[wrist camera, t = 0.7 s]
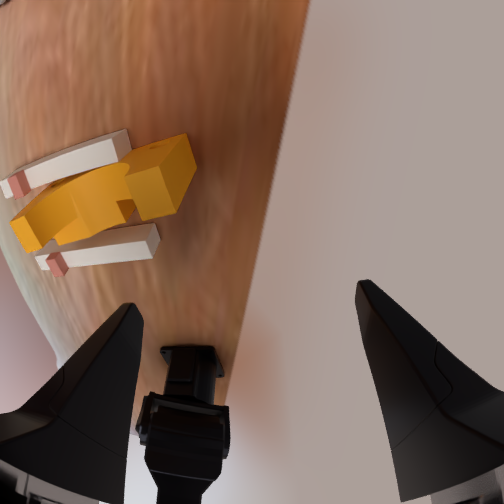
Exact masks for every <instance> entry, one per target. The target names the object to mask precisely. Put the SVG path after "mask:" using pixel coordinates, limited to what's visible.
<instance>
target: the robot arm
mask: <svg viewBox="0 0 504 504" xmlns="http://www.w3.org/2000/svg"><path fill="white" fill-rule="evenodd" d="M355 305H356V310H357V314H358V320H359V325H360V331H361V336H362V341H363V345H364V349H365V352H366V356H367V359H368V362H369V366H370V369H371V373H372V376H373V380H374V383H375V387H376V391H377V395H378V398H379V402H380V406H381V410H382V414H383V418H384V422H385V426H386V430H387V434H388V439H389V443H390V448H391V450H392V451H391V453H392V458H393V463H394V467H395V473H396V478H397V483H398V489H399V495H400V500H401V502H405V501H408V500H413V499H416V498H419V497H423V496H427V495H431V501H432V504H504V392H503V391H501V390H498V389H496V388H495V387H493V386H492V385H490V384H489V383H488V382H486V381H485V380H484V379H483V378H482V377H480V376H479V375H478V374H477V373H475V372H474V371H472V370H471V369H470V368H469V367H468V366H466V365H465V364H464V363H463V362H462V361H460V360H459V359H458V358H457V357H456V356H454V355H453V354H452V353H451V352H450V351H449V350H448V349H447V348H446V347H445V346H444V345H442V344H441V343H440V342H439V341H437V339H436V338H435V337H434V336H433V335H432V334H431V333H430V332H428V331H427V330H426V329H425V328H424V327H423V326H422V325H421V324H420V323H419V322H418V321H416V320H415V319H414V318H413V317H412V316H411V315H410V314H409V313H408V312H407V311H405V310H404V309H403V308H402V307H401V306H400V305H398V303H396V302H395V301H394V300H393V299H392V298H391V297H390V296H388V295H387V294H386V293H385V292H384V291H383V290H382V289H380V288H379V287H378V286H377V285H376V284H375V283H373V282H372V281H371V280H369V279H367V280H360V281H358V283H357V287H356V295H355ZM143 327H144V320H143V317H142V315H141V313H140V312H139V310H138V308H137V306H136V305H135V304H134V303H124V304H122V305H121V306H120V307H119V308H118V309H117V310H116V311H115V312H114V313H113V314H112V315H111V316H110V317H109V318H108V319H107V320H106V321H105V322H104V323H103V324H102V325H101V326H100V327H99V328H98V329H97V330H96V331H95V332H94V333H93V334H92V335H91V336H90V337H89V338H88V339H87V340H86V342H85V343H84V344H83V345H82V346H81V347H80V348H79V349H78V350H77V351H76V352H75V353H74V354H73V355H72V356H71V357H70V358H69V359H68V360H67V362H66V363H65V364H64V366H62V367H61V368H60V369H59V370H58V371H57V372H56V374H54V376H52V378H51V379H50V380H49V381H48V382H47V383H46V384H45V385H44V386H43V387H41V388H40V390H39V391H37V392H36V393H35V394H34V395H33V396H32V397H31V398H30V399H29V400H28V401H27V402H26V403H25V404H24V405H23V406H21V407H20V408H19V409H17V410H15V411H12V412H9V413H3V414H0V504H99V501H102V502H105V503H109V504H124V488H125V475H126V463H127V459H126V458H127V451H128V442H129V433H130V425H131V417H132V410H133V403H134V397H135V390H136V384H137V378H138V372H139V367H140V360H141V350H142V338H143ZM160 353H161V355H162V356H163V358H164V360H165V361H166V363H167V364H168V371H167V376H166V381H165V386H164V392H163V395H160V394H156V393H155V392H151V391H150V393H149V395H148V396H144V399H143V403H142V408H141V411H140V414H139V417H138V420H137V423H136V428H135V430H136V431H137V432H138V434H139V438H140V444H141V445H144V446H146V449H145V456H144V459H145V462H146V465H147V467H148V469H149V471H150V473H151V475H152V477H153V479H154V481H155V483H156V485H157V487H158V492H157V502H156V504H201V498H202V494H203V493H204V492H205V491H206V489H207V488H208V487H209V486H210V485H211V484H212V482H213V481H215V480H216V479H217V478H218V477H219V475H220V474H221V470H222V460H223V459H226V458H227V456H228V453H229V447H230V421H229V406H219V405H214V394H215V381H216V378H221V377H224V371H223V368H222V366H221V363H220V361H219V359H218V356H217V354H216V351H215V349H214V348H213V347H210V346H208V347H162V348H160Z"/></svg>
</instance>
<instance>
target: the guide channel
mask: <svg viewBox="0 0 504 504" xmlns="http://www.w3.org/2000/svg"><path fill="white" fill-rule="evenodd" d="M131 150H132V148H131V144H130V140H129V137H128V133H127V129H123V130H120V131H117V132H113V133H110V134H107V135H104V136H100V137H97V138H94V139H91V140H88V141H85V142H83V143H80V144H77V145H74V146H71V147H69V148H66V149H63V150H61V151H58V152H56V153H53V154H51V155H48V156H46V157H43V158H41V159H39V160H36V161H34V162H32V163H30V164H27V165H25V166H23V167H21V168H19V169H16V170H15V171H13V172H12V173H11V174H9V175H8V176H7V177H5V178H4V179H3V180H1V181H0V185H1V188H2V190H3V193H4V195H5V198H6V199H7V198H9V197H12V196H14V198H15V200H16V199H19V198H21V197H24V196H25V195H26V194H28V193H29V192H30V191H31V189H32V188H35V187H38V186H41V185H44V184H46V183H49V182H52V181H55V180H58V179H61V178H64V177H67V176H70V175H74V174H77V173H80V172H83V171H87V170H90V169H94V168H97V167H101V166H104V165H108V164H112V163H116V162H119V161H120V160H121V159H122V158H123V157H124V156H126V155H127V154H128V153H129V152H130V151H131ZM159 242H160V237H159V234H158V231H157V228H156V225H155V223H150V224H143V225H136V226H130V227H124V228H117V229H111V230H105V231H100V232H98V233H97V234H95V235H93V236H91V237H89V238H85V239H81V240H78V241H74V242H70V243H67V244H63V245H60V246H59V245H58V244H57V242H56V240H50V241H49V242H48V243H47V244H46V245H45V246H44V247H43V248H42V249H40V250H39V251H38V253H37V254H36V255H35V256H34V257H35V259H36V260H37V262H38V264H39V266H40V267H41V269H42V270H51V271H52V273H53V275H54V276H55V277H59V276H64V275H65V274H66V272H67V271H68V269H69V267H78V266H87V265H96V264H106V263H115V262H124V261H134V260H143V259H153V256H154V254H155V252H156V249H157V247H158V245H159Z"/></svg>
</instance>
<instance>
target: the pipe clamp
mask: <svg viewBox="0 0 504 504" xmlns="http://www.w3.org/2000/svg"><path fill="white" fill-rule="evenodd" d="M196 169H197V166H196V163H195V159H194V156H193V153H192V150H191V147H190V143H189V140H188V137H187V133H184V134H181V135H177V136H174V137H170V138H167V139H164V140H160V141H157V142H154V143H151V144H148V145H145V146H142V147H139V148H136V149H133V150H131V151H130V152H129V153H128V154H127V155H126V156H124V157H123V158H122V159H121V160H120V161H119V162H116V163H112V164H108V165H104V166H101V167H97V168H94V169H90V170H87V171H83V172H80V173H77V174H74V175H70V176H67V177H64V178H61V179H58V180H56V181H54V182H53V183H51V184H50V185H49V186H48V187H47V188H46V189H44V190H43V191H42V192H41V193H40V194H39V195H38V196H37V197H35V198H34V199H33V200H32V201H31V202H30V203H29V204H28V205H27V206H26V207H25V208H24V209H23V210H21V211H20V212H19V213H18V214H17V215H16V216H15V217H14V218H13V219H12V220H11V221H10V222H9V223H10V225H11V227H12V229H13V230H14V232H15V234H16V236H17V237H18V239H19V241H20V243H21V244H22V246H23V248H24V249H25V251H26V253H29V252H32V251H36V250H39V249H42V248H43V247H44V246H45V245H46V244H47V243H48V242H49V241H50V240H51V239H52V238H53V237H54V238H55V240H56V242H57V244H58V245H59V246H60V245H63V244H67V243H70V242H74V241H78V240H81V239H85V238H89V237H91V236H93V235H95V234H97V233H98V232H100V231H103V230H105V229H107V228H110V227H112V226H115V225H118V224H122V223H126V222H127V220H128V219H129V217H130V216H131V214H132V213H133V211H134V210H135V208H137V210H138V212H139V214H140V217H141V219H142V221H145V220H149V219H153V218H158V217H162V216H166V215H171V214H175V213H177V210H178V208H179V206H180V204H181V201H182V199H183V197H184V195H185V193H186V190H187V188H188V186H189V184H190V182H191V180H192V178H193V175H194V173H195V171H196ZM134 203H135V204H134ZM135 205H136V206H135Z"/></svg>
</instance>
